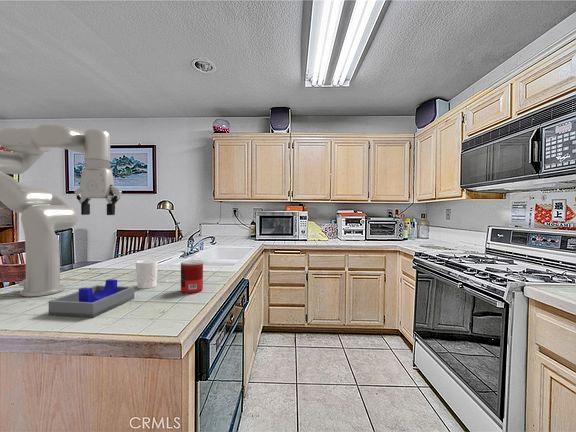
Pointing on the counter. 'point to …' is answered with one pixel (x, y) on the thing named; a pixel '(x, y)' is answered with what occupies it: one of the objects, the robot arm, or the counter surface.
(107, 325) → the counter surface
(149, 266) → the white cup
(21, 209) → the robot arm
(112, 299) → the tray
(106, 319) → the counter surface
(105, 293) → the blue u-shaped block
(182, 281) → the canned food
